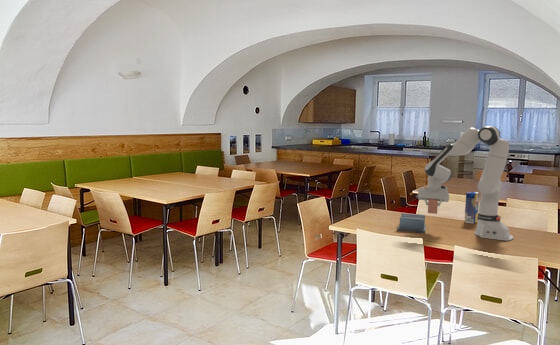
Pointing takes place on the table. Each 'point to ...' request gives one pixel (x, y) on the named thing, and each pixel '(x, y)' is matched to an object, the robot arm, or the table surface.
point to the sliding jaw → (413, 216)
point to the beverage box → (471, 207)
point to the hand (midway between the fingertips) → (432, 205)
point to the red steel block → (432, 206)
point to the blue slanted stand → (411, 225)
